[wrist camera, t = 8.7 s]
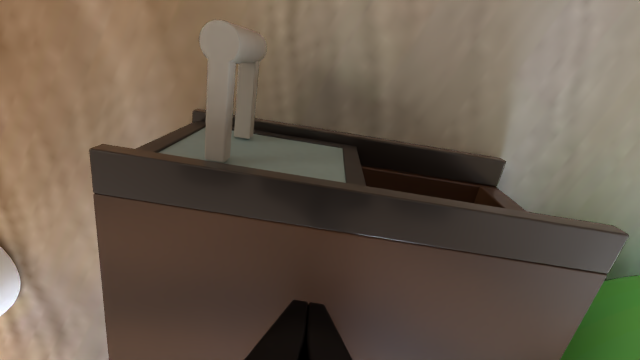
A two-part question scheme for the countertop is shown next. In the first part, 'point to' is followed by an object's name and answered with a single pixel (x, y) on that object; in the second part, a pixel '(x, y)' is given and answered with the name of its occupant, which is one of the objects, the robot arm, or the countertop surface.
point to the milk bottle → (8, 282)
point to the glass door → (249, 118)
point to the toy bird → (610, 324)
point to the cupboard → (338, 255)
